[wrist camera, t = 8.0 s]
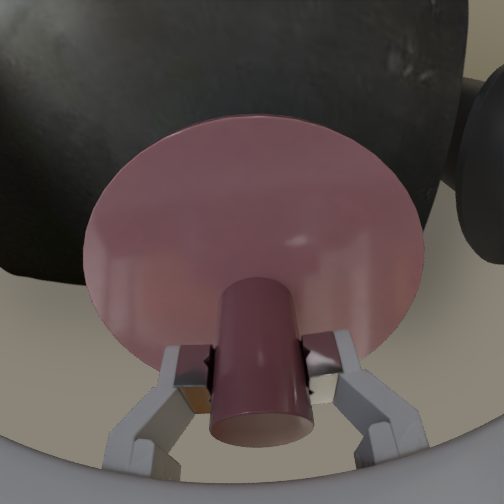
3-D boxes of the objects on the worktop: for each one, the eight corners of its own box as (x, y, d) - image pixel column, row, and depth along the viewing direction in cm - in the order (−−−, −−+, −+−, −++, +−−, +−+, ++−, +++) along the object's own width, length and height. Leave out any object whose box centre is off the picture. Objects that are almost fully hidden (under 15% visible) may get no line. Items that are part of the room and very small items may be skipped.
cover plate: (429, 107, 8) (572, 177, 3) (383, 358, 15) (412, 451, 10) (48, 157, 9) (-71, 254, 4) (155, 380, 16) (139, 473, 11)
